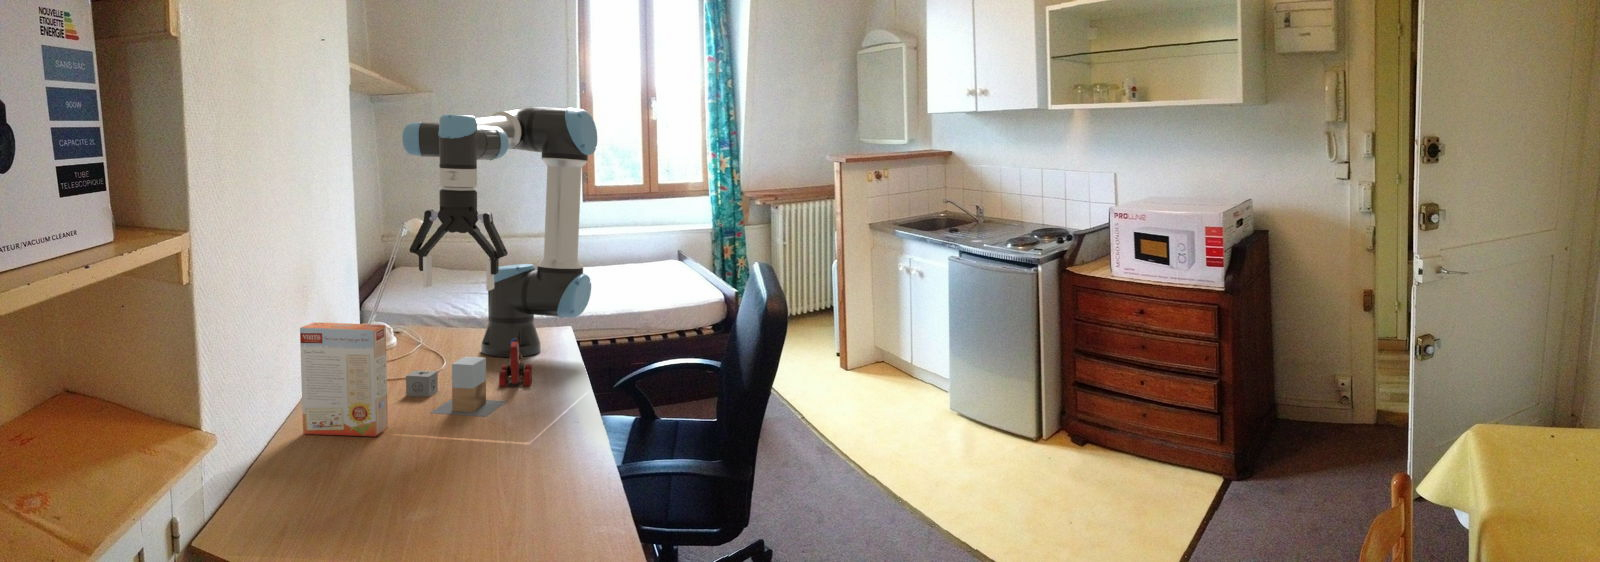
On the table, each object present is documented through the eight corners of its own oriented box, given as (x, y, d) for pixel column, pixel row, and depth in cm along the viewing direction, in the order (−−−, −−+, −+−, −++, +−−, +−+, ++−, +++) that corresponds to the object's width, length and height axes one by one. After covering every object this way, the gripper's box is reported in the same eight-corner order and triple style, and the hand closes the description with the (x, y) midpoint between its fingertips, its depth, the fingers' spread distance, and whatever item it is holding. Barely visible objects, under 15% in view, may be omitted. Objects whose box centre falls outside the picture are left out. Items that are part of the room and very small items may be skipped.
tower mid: (465, 379, 210) (465, 356, 209) (485, 380, 210) (485, 357, 209) (452, 387, 203) (451, 363, 202) (472, 388, 203) (472, 365, 202)
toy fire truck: (532, 377, 235) (532, 335, 234) (529, 390, 223) (530, 346, 222) (502, 377, 234) (502, 335, 232) (498, 391, 222) (498, 346, 220)
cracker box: (389, 428, 191) (387, 323, 188) (375, 438, 185) (373, 329, 182) (317, 425, 191) (314, 320, 188) (301, 434, 185) (298, 326, 182)
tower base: (466, 401, 211) (465, 379, 210) (485, 403, 210) (485, 380, 210) (452, 410, 204) (452, 387, 203) (472, 412, 203) (472, 388, 203)
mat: (453, 399, 213) (453, 397, 213) (507, 403, 213) (507, 401, 212) (429, 414, 201) (429, 412, 201) (486, 418, 201) (486, 416, 201)
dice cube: (437, 393, 218) (437, 371, 217) (429, 399, 213) (429, 376, 212) (415, 392, 218) (414, 370, 217) (406, 398, 213) (405, 375, 212)
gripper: (392, 186, 203) (393, 287, 206) (511, 192, 203) (510, 293, 206) (407, 185, 211) (409, 282, 214) (522, 190, 210) (522, 288, 213)
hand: (459, 288), depth 210 cm, fingers open, 13 cm apart
